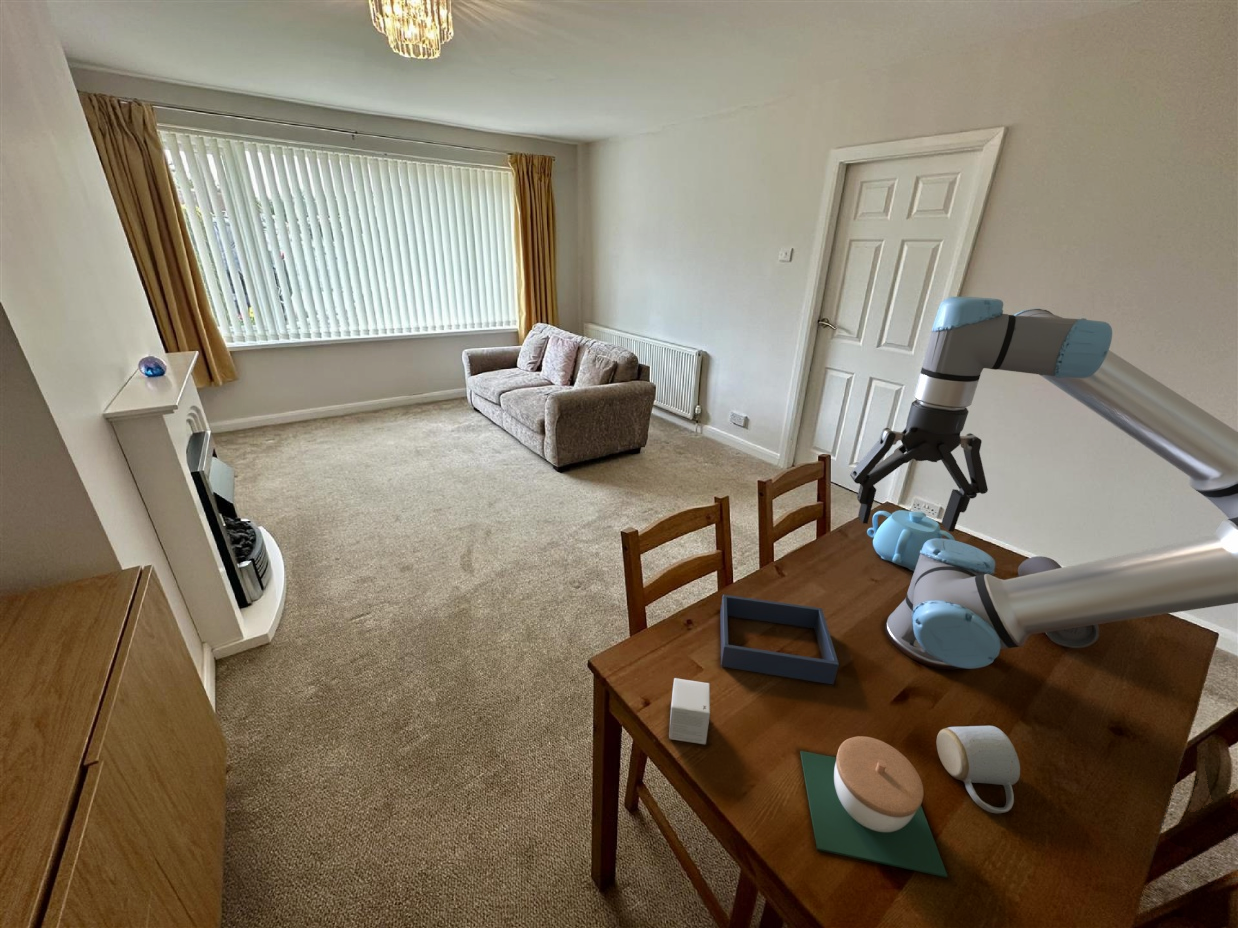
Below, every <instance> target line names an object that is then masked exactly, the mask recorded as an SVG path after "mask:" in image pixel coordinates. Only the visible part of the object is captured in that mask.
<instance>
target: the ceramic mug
mask: <svg viewBox="0 0 1238 928" xmlns="http://www.w3.org/2000/svg"><path fill="white" fill-rule="evenodd" d="M935 743H936V750H937V753H938V757H939V759H940V762H941V764H942V766H943V767H944V769H945V770H946V771H947V773H948V774H949V775H950V776H951V777H952V778H954V779H955V780H959V781H962V783H964V785H965V789H966V791H967V793H968V794H969V796H970V798H971V799H972V801H973V802H974V803H975V804H976V805H977V806H978V807H980V808H981V809H983V810H984V811H986V812H988V813H993V814H1002V813H1007V812H1009V811H1010V810H1012V808H1013V805H1014V803H1015V798H1014V797H1015V795H1014V791H1013V790H1014V789H1013V785H1015V784H1016V783H1017V782H1018V781H1019V779H1020V777H1021V764H1020V760H1019V755H1018V753H1017V751H1016V748H1015V746H1014V744H1013V743H1012V741H1011V740H1010V738H1009V737H1008V736H1007V734H1006V733H1005V732H1004V731H1002V730H1001V729H1000V728H999V727H996V726H994V725H969V726H948V727H944V728H942V729H940V730H939V732H938V734H937V736H936V741H935ZM972 783H976V784H978V783H979V784H990V785H999V786H1001V785H1002V786H1003V788H1004V792H1005V799H1006V802H1005V804H1004V806H1003V807H997V806H993V805H991V804H989V803H987V802H985V801H984V800H982V799H981V798H980V796H979V795H978V793H977V792H976V790H975V788H974V786H973V784H972Z"/></svg>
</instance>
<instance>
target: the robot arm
mask: <svg viewBox="0 0 1238 928" xmlns="http://www.w3.org/2000/svg"><path fill="white" fill-rule="evenodd" d="M1003 309H1004V302H1003V301H1002V299H999V298H990V297H979V296H978V297H977V296H949V297H947V298H945V299H944V300H942V301H941V303H940V304H939V307H938V309H937V313H936V315H935V319H934V322H933V325H932V327H931V330H930V334H929V339H928V342H927V345H926V346H927V347H926V350H925V353H924V358H923V362H922V365H921V369H920V373H919V376H918V379H917V384H916V386H915V390H914V394H913V397H914V399H915V400H914V401H912V402H911V404H910V409H909V412H908V415H907V419H906V424H905V428H904V429H903V430H902V431H897V430H896V431H895V430H892V429H890V428H888V427H884V428H883V429H882V431H881V433H880V436H879V438H878V440H877V441H876V443H875V444H874V445H873V446H872V447H871V448H870V450H868V452H867V453H866V454H865V456H864V457H863V458H862V459H861V460H860V461H859V462H858V464H857V465H856V466H855V467H854V469H853V470H852V471H851V472H850V474H849V476H850V478H851V479H852V481H854V483H855V484H858V485H859V488H858V492H857V495H856V499H857V501H858V503H859V504H860V506H859V510H858V514H857V516H858V518H859V520H860V521H861V524H864V525H865V524H869V519H870V516H871V512H872V508H873V505H874V501H875V496H876V493H877V488H876V487H875V485H876V484H878V483H879V482H881V481H882V480H883V479H885V478H886V477H887V476H889V475H890V474H891V473H893V472H894V471H895V470H897V469H898V468H900V467H901V466H902V465H904V464H907V463H909V462H911V461H912V460H915V461H916V462H925V461H927V462H931V463H938V462H939V461H941V462H942V464H943V466H944V467H945V469H946V470H947V472H948V474H949V475H950V476H951V478H952V480H953V481H954V483H955V484H956V486H957V488H958V489H955V488H953V489H952V490H951V493H950V496H949V499H948V502H947V505H946V508H945V511H944V514H943V517H942V519H941V522H940V524H941V525H942V526H943V527H944V529H946V530H947V532H950V533H951V532H953V533H954V531H955V530H956V526H957V523H958V520H959V517H960V515H961V513H962V514H963V513H965V512H966V511H967V509H968V506H969V504H970V500H971V499H972V500H973V499H975V498H977V496H978V494H981V495H985V494H987V493H988V491H989V488H988V484H987V480H986V476H985V470H984V466H983V462H982V457H981V452H980V451H981V447H982V439H981V438H979V436H976V435H974V434H973V433H971V432H969V433H967V434H966V435H961V433H962V432H963V430H964V427H965V425H966V421H967V418H968V415H969V412H970V411H969V410H968V407H971V406H972V404H973V400H974V398H975V394H976V391H977V387H978V384H979V381H980V378H981V375H982V373H983V370H984V369H989V370H994V371H1007V372H1008V371H1009V372H1015V373H1025V374H1031V375H1039V376H1040V377H1042V378H1043V379H1045V380H1046V381H1047V382H1049V383H1050V384H1052V385H1054V386H1055V387H1056V388H1058V389H1059V390H1061V391H1063V392H1064V393H1065V394H1067V395H1068V396H1070V397H1071V398H1072V399H1074V400H1076V401H1077V402H1078V403H1080V404H1082V405H1083V406H1084V407H1086V408H1088V409H1089V410H1090V411H1092V412H1094V414H1096V415H1098V416H1099V417H1101V418H1102V419H1103V420H1105V421H1107V422H1108V423H1110V424H1111V425H1113V426H1114V427H1115V428H1117V429H1119V430H1120V431H1122V432H1123V433H1125V434H1126V435H1127V436H1129V437H1131V438H1132V439H1133V440H1135V441H1136V442H1138V443H1139V444H1141V445H1142V446H1143V447H1145V448H1147V449H1148V450H1150V451H1151V452H1152V453H1154V454H1155V455H1156V456H1159V457H1160V458H1161V459H1163V460H1165V461H1166V462H1168V463H1169V464H1170V465H1172V466H1173V467H1175V468H1176V469H1178V470H1179V471H1181V472H1182V473H1184V474H1185V475H1187V476H1188V485H1189V486H1190V487H1191V489H1193V490H1194V491H1196V492H1197V493H1199V494H1201V495H1202V496H1203V497H1205V498H1206V499H1207V500H1208V501H1210V503H1212V504H1213V505H1214V506H1215V507H1217V509H1219V510H1220V511H1221V512H1222V513H1223V515H1225V516H1226V518H1227V519H1224V520H1222V521H1221V522H1220V524H1219V525H1218V527H1217V528H1216V530H1215V531H1214V533H1213V534H1211V535H1207V536H1203V537H1198V538H1193V539H1189V540H1184V541H1179V542H1175V543H1170V544H1165V545H1160V546H1156V547H1151V548H1147V549H1141V550H1138V551H1133V552H1128V553H1124V554H1119V555H1115V556H1110V557H1105V558H1101V559H1096V560H1091V561H1087V562H1081V563H1078V564H1077V563H1076V564H1073V565H1068V566H1064V567H1062V568H1058V569H1054V570H1049V571H1044V572H1040V573H1035V574H1030V575H1026V576H1021V577H1019V576H1017V577H1012V578H1007V579H1001V578H998V577H997V576H994V574H995V573H996V572H995V569H996V561H995V559H994V558H993V557H992V555H990V554H989V553H987V552H986V551H984V550H982V549H981V548H978V547H976V546H973V545H971V544H968V543H965V542H962V541H957V540H955V541H954V540H949V539H948V538H942V539H930V540H928V541H926V542H925V543H924V545H923V548H922V550H920V556H919V559H918V562H917V565H916V568H915V571H913V574H912V577H911V580H910V583H909V586H908V589H907V593H906V595H905V598H904V599H903V600H902V602H900V604H899V605H897V607H896V608H895V610H893V611H892V612H891V613H890V614H889V616H888V617H887V620H886V623H885V626H884V627H885V629H884V630H885V634H886V636H887V638H888V639H889V641H890V642H891V643H892V645H893V646H895V647H896V648H897V649H898V650H899V651H900V652H901V653H903V654H904V655H906V657H909V658H910V659H912V660H913V661H915V662H918V663H920V664H922V665H925V666H928V667H931V668H934V669H939V670H948V671H953V670H959V669H967V670H969V669H973V670H974V669H981V668H984V667H987V666H989V665H991V664H992V663H994V661H995V659H996V658H998V656H999V655H1000V652H1001V651H1002V650H1006V649H1014V648H1021V647H1023V646H1024V645H1025V643H1026V642H1027V640H1028V638H1029V637H1030V636H1031V635H1036V634H1042V633H1043V634H1044V633H1045V632H1050V631H1057V630H1063V629H1070V628H1076V627H1083V626H1089V625H1096V624H1097V625H1103V624H1107V623H1108V624H1109V623H1115V622H1122V621H1128V620H1134V619H1140V618H1141V619H1142V618H1147V617H1154V616H1161V615H1168V614H1173V613H1181V612H1188V611H1194V610H1200V609H1207V608H1214V607H1220V606H1227V605H1233V604H1238V431H1237V430H1236V429H1234V428H1233V427H1231V426H1230V425H1228V424H1227V423H1225V422H1223V421H1221V420H1220V419H1219V418H1217V417H1215V416H1214V415H1212V414H1211V413H1209V412H1208V411H1206V410H1204V409H1203V408H1201V407H1199V406H1198V405H1197V404H1195V403H1193V402H1191V401H1190V400H1189V399H1187V398H1185V396H1182V395H1181V394H1179V393H1177V392H1176V391H1174V390H1173V389H1171V388H1169V387H1168V386H1167V385H1165V384H1163V382H1160V381H1158V380H1157V379H1155V378H1154V377H1152V376H1151V375H1149V374H1148V373H1146V372H1145V371H1143V370H1142V369H1140V368H1138V367H1137V366H1135V365H1133V364H1132V363H1131V362H1129V361H1127V360H1126V359H1124V358H1123V357H1122V356H1119V355H1118V354H1116V353H1115V352H1113V351H1112V350H1110V347H1111V344H1112V340H1113V328H1112V326H1111V324H1110V323H1108V322H1107V321H1102V320H1093V319H1087V318H1084V317H1083V318H1070V317H1062V316H1059V315H1056V314H1053V312H1051V311H1049V310H1047V309H1043V308H1042V309H1041V308H1031V309H1025V310H1022V311H1019V312H1016V313H1014V314H1008V313H1004V310H1003ZM899 441H900V442H901V445H899V446H898V447H896V448H895V449H894V450H893V453H890V455H888V456H887V457H886V458H884V457H885V456H886V454H887V453H888V452H889V451H890V450H891V448H892V447H893V445H894V446H896V445H897V443H898V442H899ZM958 447H960V448H962V451H963V455H964V459H965V463H966V468H967V472H968V476H969V479H970V482H969V480H968V479H967V477H966V475H965V474H964V473H963V471H962V469H961V468H960V466H959V464H958V462H957V459H956V458H955V456H954V455H953V454H952V452H953V451H954V450H956V449H957V448H958ZM883 458H884V459H883ZM882 459H883V460H882Z"/></svg>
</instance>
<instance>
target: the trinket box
mask: <svg viewBox="0 0 1238 928" xmlns="http://www.w3.org/2000/svg"><path fill="white" fill-rule="evenodd" d="M834 784H835V789H836V792H837V795H838V798H839V800H840V802H841V803H842V805H843V807H844V808H845V810H846V811H847V812H848V813H849V814H850V816H851V817H852V818H854V819H855V820H856V821H857V822H858V823H860V824H861V825H863V826H865V827H866V828H869V829H871V830H874V831H877V832H893V831H897V830H899V829H901V828H903V827H904V826H905V825H907V824H908V823H909V822H910V821H911V819H912V818H913V816H914V815H915V813H916V811H917V810H918V808H919V807H920V805H921V806H922V803H923V800H924V794H925V792H924V785H923V782H922V779H921V777H920V774H919V773H918V771H917V770H916V768H915V767H914V765H913V764H912V763H911V762H910V760H909V759H908V758H907V757H906V756H905V755H904V754H902V753H901V752H900V751H899V750H898V749H896V748H895V747H894V746H892V745H890V744H888V743H886V742H885V741H883V740H880V739H877V738H874V737H871V736H864V735H863V736H861V735H860V736H859V735H857V736H852V737H849V738H847V739H845V740H844V741H842V743H841V744H840V745H839V747H838V750H837V754H836V763H835V768H834Z"/></svg>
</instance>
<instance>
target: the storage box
mask: <svg viewBox="0 0 1238 928" xmlns="http://www.w3.org/2000/svg"><path fill="white" fill-rule="evenodd" d="M720 605H721V606H720V612H719V613H720V614H719V615H720V618H719V619H720V665H721V666H720V667H722V668H727V669H728V668H729V669H735V670H741V671H747V672H754V673H759V674H765V675H770V676H771V675H772V676H778V677H783V678H788V679H789V678H790V679H797V680H802V681H808V682H809V681H810V682H815V683H821V684H828V685H834V684H835V680H836V677H837V673H838V670H839V667H840V663H839V659H838V657H837V652H836V650H835V646H834V644H833V640H832V637H831V633H830V630H829V627H828V623H827V620H826V617H825V614H824V611H823V608H821V607H815V606H808V605H801V604H794V603H787V602H780V601H773V600H764V599H759V598H750V597H743V596H736V595H729V594H722V597H721V604H720ZM728 617H731V618H732V617H733V618H738V619H739V618H740V619H746V620H752V621H753V620H754V621H760V622H766V623H772V624H773V623H775V624H779V625H780V624H781V625H788V626H795V627H802V628H807V629H814V633H815V637H816V641H817V644H818V648H819V652H820V655H821V658H816V657H810V656H804V655H797V654H793V653H792V654H791V653H784V652H778V651H772V650H771V651H770V650H766V649H765V650H764V649H758V648H753V647H752V648H751V647H745V646H740V645H733V644H729V625H728V622H729V621H728Z"/></svg>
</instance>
